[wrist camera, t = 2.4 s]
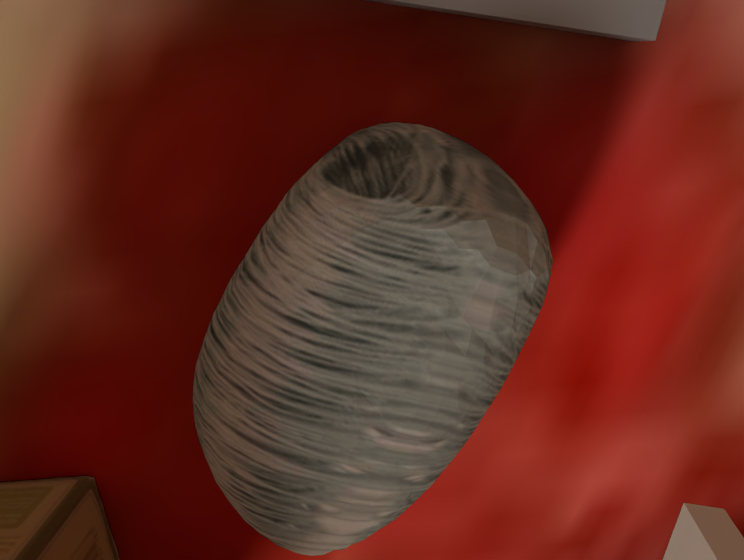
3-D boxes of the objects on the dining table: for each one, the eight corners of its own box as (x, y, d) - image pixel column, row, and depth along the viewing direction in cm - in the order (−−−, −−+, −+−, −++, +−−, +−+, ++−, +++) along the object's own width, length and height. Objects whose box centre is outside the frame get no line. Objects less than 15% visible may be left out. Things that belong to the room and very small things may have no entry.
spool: (313, 9, 18) (401, 253, 12) (548, 136, 23) (706, 359, 17) (137, 323, 25) (127, 589, 19) (346, 370, 30) (398, 593, 24)
